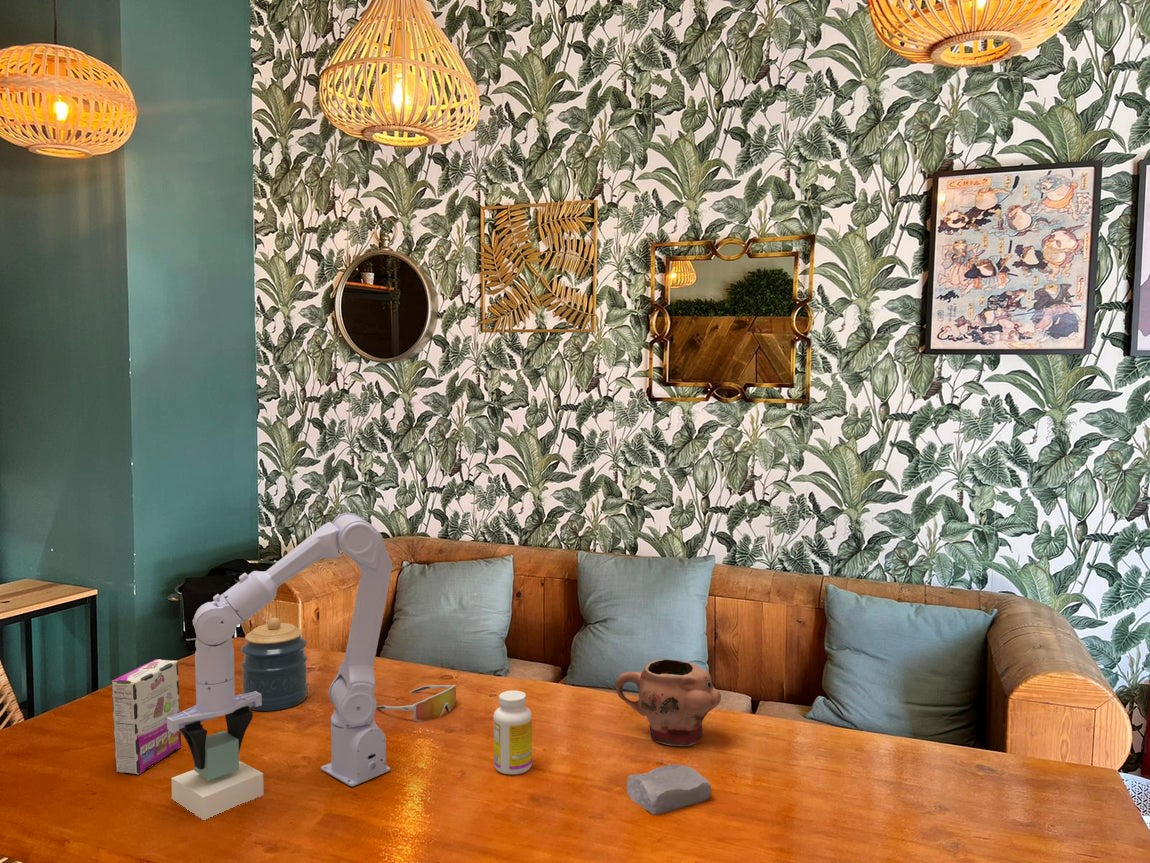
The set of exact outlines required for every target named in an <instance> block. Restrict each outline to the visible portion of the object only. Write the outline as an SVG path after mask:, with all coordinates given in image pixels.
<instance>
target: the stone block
mask: <svg viewBox="0 0 1150 863" xmlns="http://www.w3.org/2000/svg"><path fill="white" fill-rule="evenodd" d="M626 791H627V796H628V797H629V798H630V800H631V801H632V802H634V803H636V804H637V805H639V806H640V807H642V808H643V809H644V810H645V811H647V812H649V813H650V814H651V815H652V816H657V815H661V814H665V813H668V812H673V811H676V810H680V809H682V808H686V807H689V806H692V805H697V804H701V803H703V802H706V801H707V800H708V799H710V797H711V794H712V786H711V783H710V782H709V780H708V779H706V778H705V777H704V775H701V774H700V773H699V772H698V771H697V770H695V769H694V768H692V767H691V766H688V765H687V766H686V765H684V764H673V763H672V764H667V765H665V766H659V767H656V768H654V769H651V770H650V771H648V772H644V773H643V772H642V773H635V774H634V773H633V774H630V775H628V776H627V781H626Z"/></svg>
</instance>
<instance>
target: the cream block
mask: <svg viewBox="0 0 1150 863" xmlns="http://www.w3.org/2000/svg"><path fill="white" fill-rule="evenodd" d="M170 781H171V800H172V799H173V800H174V801H176V802H177V803H179V804H180V805H182V806H183V807H185V808H186V809H187V810H186V809H185V808H184V809H185V810H186V811H188V810H189V811H190V813H191V812H192V813H194V814H195V815H194V814H193V815H194V816H195V817H197V816H198V817H197V818H198V819H200V818H201V819H200V820H202V821H203V820H205V821H206V819H207V820H209V819H211V818H210V817H212V818H213V816H214V815H216V816H218V815H217V814H219V813H221V814H223V813H225V812H224V811H226V810H228V811H230V810H231V809H230V808H233V807H235V806H237V805H239V806H241V805H240V804H242V803H244V804H246V803H249V802H251V801H253V800H255V798H256V799H258V798H261V797H262V796H261V795H263V796H264V793H265V792H264V773H263V772H261V771H260V770H257V769H256V768H254V767H252V766H250V765H249V764H246V763H245V762H243V761H241V760H239V770H237V771H234V772H231V773H228V774H226V775H223V776H220V777H217V778H215V779H212V780H209V781H208V780H207V779H205V778H204V777H202V776H201V775H200V774H198V773H197V772H196V771H194V769H192V770H189V771H186V772H183V773H181V774H178V775H176V776H173V777H171V780H170ZM257 797H258V798H257ZM250 800H251V801H250ZM174 801H173V802H174ZM248 801H249V802H248ZM245 802H246V803H245ZM177 803H176V804H177ZM179 804H178V805H179ZM180 805H179V806H180ZM242 805H243V804H242ZM182 806H181V807H182ZM183 807H182V808H183ZM237 807H238V806H237ZM235 808H236V807H235ZM229 809H230V810H229ZM233 809H234V808H233ZM189 811H188V812H189ZM222 812H223V813H222ZM226 812H227V811H226ZM192 813H191V814H192ZM219 815H220V814H219ZM214 817H215V816H214ZM208 818H209V819H208Z"/></svg>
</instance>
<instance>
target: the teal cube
mask: <svg viewBox="0 0 1150 863" xmlns="http://www.w3.org/2000/svg"><path fill="white" fill-rule="evenodd" d="M239 761H240V751H239V741H238V739H237V738H235V737H234V736H232V735H231V734H229V733H228V731H226V730H222V731H219V732H218V731H217V732H216V733H213V734H210V735H209V734H208V735H207V736H206V742H205V767H204V769H201V770H200V769H198V768H197V767H195V764H194V763H193V766H194V767H193V768H194V769H193V770H194V771H196V772H197V773H198V774H200V775H201V776H202V777H204V778H205V779H207V780H208V781H209V780H212V779H215V778H217V777H220V776H223V775H226V774H228V773H231V772H234V771H237V770H239Z"/></svg>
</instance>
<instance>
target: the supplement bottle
mask: <svg viewBox="0 0 1150 863" xmlns="http://www.w3.org/2000/svg"><path fill="white" fill-rule="evenodd" d="M498 703H499V705H500V707H497V708H496V709H495V711H494V712H493V765H494V768H495V770H496V771H497V772H499V773H500V774H505V775H512V776H513V775H520V774H523V773H525V772H528V771H529V770H530V769H531V767H532V765H533V729H532V727H533V725H532V724H533V718H532V716H533V715H532V711H531V709H530V708H529V707H527V706H526V703H527V695H526V692H523V691H520V690H506V691H503V692H501V693H500V694H499V695H498Z"/></svg>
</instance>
